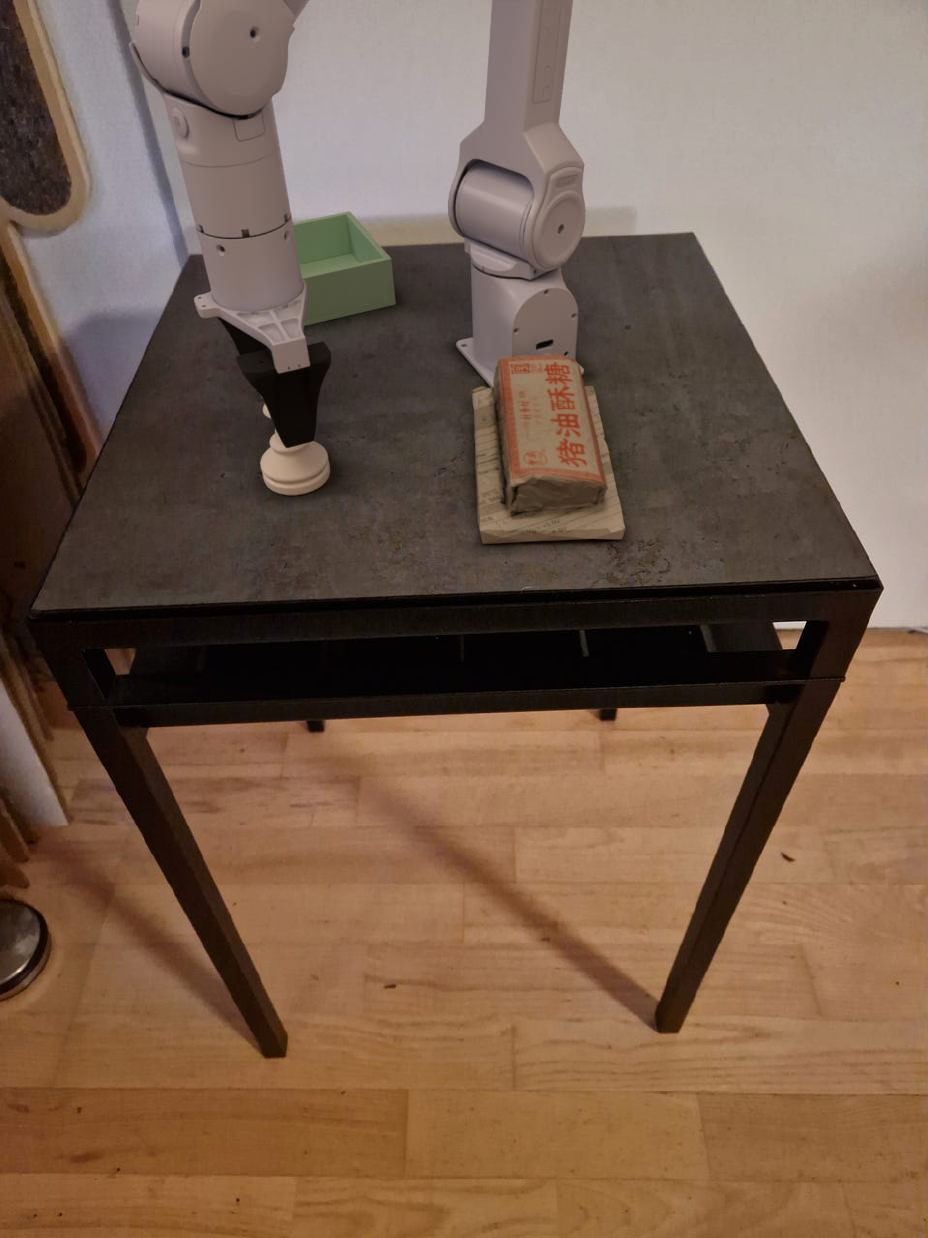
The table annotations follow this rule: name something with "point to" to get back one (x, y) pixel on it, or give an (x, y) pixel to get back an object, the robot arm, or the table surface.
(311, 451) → the chess pawn
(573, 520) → the packaged product
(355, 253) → the open green box
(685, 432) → the table surface
